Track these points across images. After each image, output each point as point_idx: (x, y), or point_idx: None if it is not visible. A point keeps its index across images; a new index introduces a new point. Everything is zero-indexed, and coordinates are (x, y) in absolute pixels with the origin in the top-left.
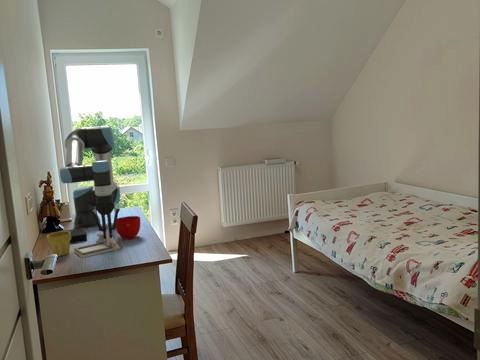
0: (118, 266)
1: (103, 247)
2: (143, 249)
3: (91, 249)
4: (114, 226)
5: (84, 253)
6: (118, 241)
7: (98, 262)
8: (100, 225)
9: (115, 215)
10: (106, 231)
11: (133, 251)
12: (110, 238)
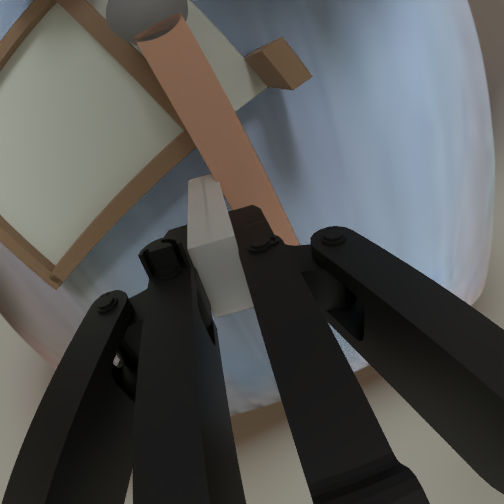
0: None
1: (108, 96)
2: (427, 153)
3: (34, 153)
4: (362, 321)
5: (64, 279)
6: (251, 55)
7: (220, 349)
8: (106, 360)
9: (484, 453)
10: (207, 285)
11: (378, 182)
12: (171, 74)
